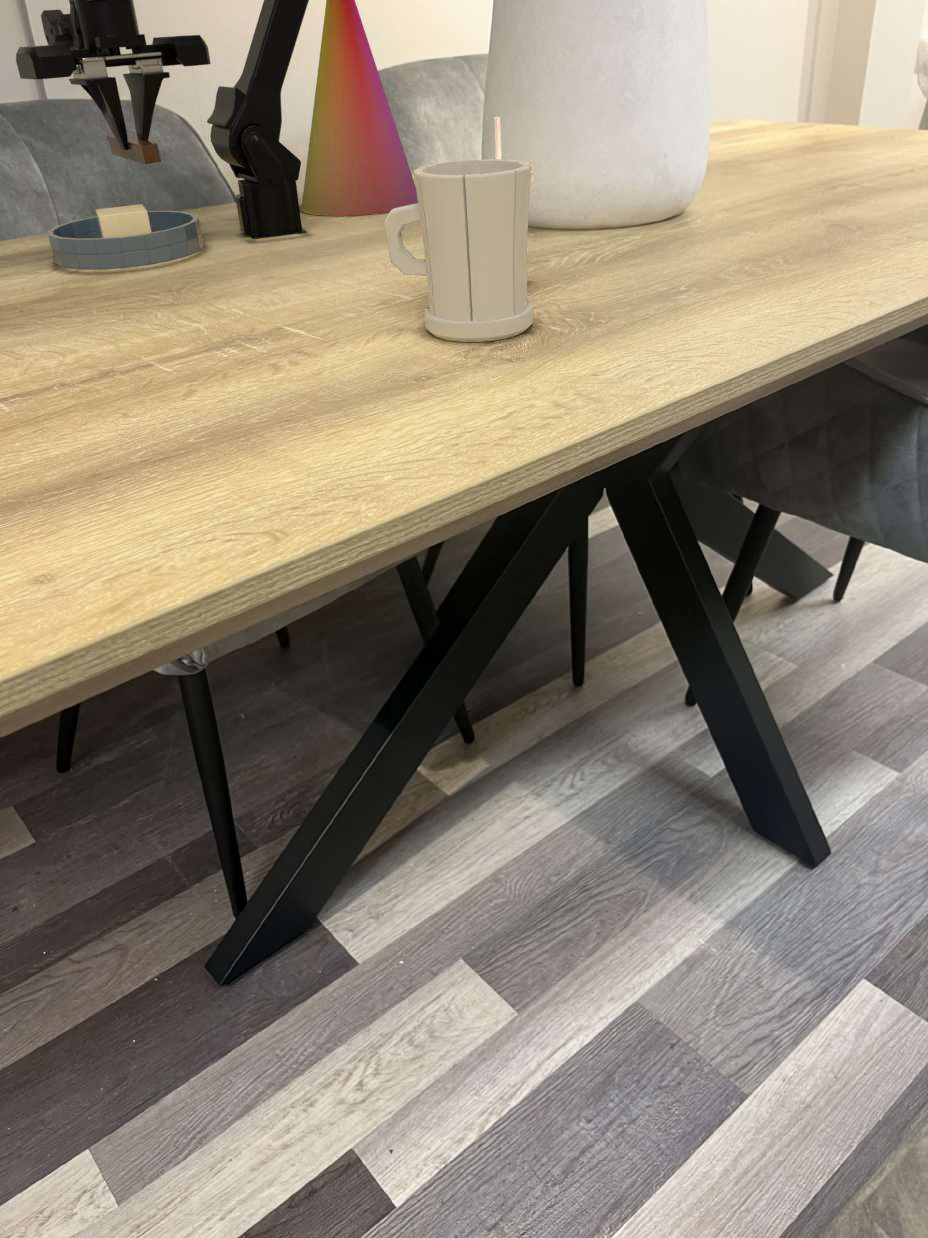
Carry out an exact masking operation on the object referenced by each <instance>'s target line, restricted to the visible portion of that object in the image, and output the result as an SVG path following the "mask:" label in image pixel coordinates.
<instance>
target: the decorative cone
mask: <svg viewBox="0 0 928 1238" xmlns="http://www.w3.org/2000/svg"><path fill="white" fill-rule="evenodd" d="M389 104H390V103H389V101H388V98H387V95H386V92H385V88H384V86H383V83H382V79H381V77H380V73H379V70H378V67H377V64H376V61H375V58H374V54H373V52H372V49H371V45H370V42H369V39H368V37H367V34H366V30H365V26H364V24H363V20H362V18H361V14H360V12H359V8H358V6H357V3H356V0H325V9H324V17H323V26H322V33H321V42H320V51H319V58H318V67H317V76H316V84H315V92H314V101H313V109H312V117H311V125H310V135H309V143H308V151H307V159H306V168H305V176H304V184H303V192H302V199H301V200H302V201H301V210H300V211H302V212H303V213H305V214H310V215H314V216H315V215H316V216H326V217H331V216H332V217H350V216H367V215H376V214H383V213H390V211H391V210H392V209H394V208H398V207H402V206H407V205H411V204H416V203H418V199H417V192H416V186H415V180H414V176H413V175H412V172H411V169H410V166H409V162H408V159H407V156H406V153H405V150H404V147H403V144H402V142H401V137H400V135H399V132H398V128H397V126H396V122H395V119H394V117H393V113H392V111H391V107H390V105H389Z"/></svg>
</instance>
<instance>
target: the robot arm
mask: <svg viewBox="0 0 928 1238" xmlns="http://www.w3.org/2000/svg"><path fill="white" fill-rule="evenodd" d="M309 1H310V0H263V3H262V5H261V9H260V11H259V16H258V19H257V22H256V24H255V25H256V26H255V29H254V33H253V35H252V39H251V42H250V46H249V48H248V49H249V50H248V53H247V56H246V59H245V63H244V67H243V70H242V72H241V75H240V77H239V78H238V80H237V81H236V83H235V85H234V86H233V87H232V86H223V85H219V86H218V88H217V90H216V93H215V94H216V95H215V103H214V107H213V111H212V113H211V114H210V116H209V117H208V118H207V120H206V123H207V124H210V125H211V128H210V135H209V136H210V143H211V144H212V147H213V149H214V151H215V153H216V155H217V156H218V157H219V159H221V160H222V161H223V162H225V163H226V164H228V165H229V167H230V169H231V171H232V173H233V175H234V177H235V178H236V179H238V180H237V184H238V191H239V193H237V194H236V195H235V197H234V198H235V204H236V209H237V216H238V221H239V228H240V231H241V232H242V233H243V234H244V235H246V236H248V237H249V238H250V239H251V240H258V239H267V238H275V237H283V236H290V235H291V236H292V235H299V234H307V230H306V229H305V228H303V225H302V216H301V210H300V203H299V202H300V201H299V194H298V187H297V181H299V177H300V172H301V167H302V160H300V159H299V158H298V157H297V156H296V155H295V153H293V152H292V151H290V150H289V149H288V148H287V147H286V146H285V145H284V144H283V143H281V142H280V137H281V130H282V124H283V123H282V122H283V116H282V115H283V112H282V89H283V85H284V82H285V79H286V76H287V74H288V69H289V67H290V63H291V59H292V56H293V53H294V51H295V48H296V44H297V41H298V37H299V35H300V31H301V27H302V24H303V22H304V17H305V14H306V11H307V8H308V5H309ZM68 2H69V3H68V4H69V13H63V11H62V10H61V9H46V10H43V11H42V12H41V14H40V18H41V24H42V28H43V29H42V30H43V33H44V37H45V39H46V42H47V44H44V45H29V46H19V47H18V49H17V51H16V53H15V62H16V66H17V70H18V74H19V78H20V80H21V79H22V80H49V79H62V78H68V81H69V82H70V84H71V85H75V86H80V87H81V88H82V89H83V90H84V91H85V92H86V93H87V94H88V96H90V98H91V99H92V101H93V103H95V105H96V106H97V108H98V110H99V111H100V113H101V115H102V116H103V119H104V120H105V122H106V123H107V124H106V125H108V127H109V129H110V131H111V132H112V136H115V138H116V140H117V142H118V144H119V145H120V147H121V149H122V150H128V137H127V136H128V131H127V127H126V121H125V117H124V113H123V107H122V102H121V97H120V93H119V92H120V91H119V88H118V83H117V78H116V76H109V73H108V70H107V68H114V67H115V68H116V67H126V66H127V67H128V72H129V73H128V72H127V73H123V74H122V76H123V79H124V82H125V83H126V86H127V88H128V90H129V95H130V101H131V102H130V103H131V108H132V114H133V121H134V129H135V134H136V138H139V139H142V140H146V141H149V139H150V133H151V128H152V122H153V117H154V111H155V106H156V103H157V99H158V97H159V93H160V91H161V90H160V89H161V86H162V83H163V81H164V79H169V78H170V77H171V75H170V71H164V67H170V66H180V65H181V66H182V67H195V66H197V67H198V66H206V65H211V64H212V63H211V58H210V51H209V46H208V44H207V42H206V41H205V40H204V38H203V37H202V36H201V35H200V34H190V35H189V34H188V35H184V34H183V35H170V36H157V37H153V38H152V43H151V44H147V40H146V36H145V35H146V34H145V33H140V29H139V28H140V27H139V24H138V19H137V13H136V8H135V3H134V0H68ZM121 48H125V50H127V51H128V50H131V53H121ZM71 76H72V77H73V78H71Z"/></svg>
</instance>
